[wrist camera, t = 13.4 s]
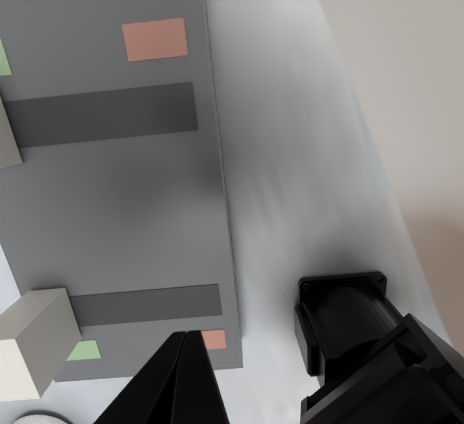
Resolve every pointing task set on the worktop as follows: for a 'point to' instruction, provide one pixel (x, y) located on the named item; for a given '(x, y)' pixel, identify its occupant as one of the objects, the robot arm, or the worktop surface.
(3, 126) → the off-white switch lever
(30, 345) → the off-white block
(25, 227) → the switch panel
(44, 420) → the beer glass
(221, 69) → the worktop surface
